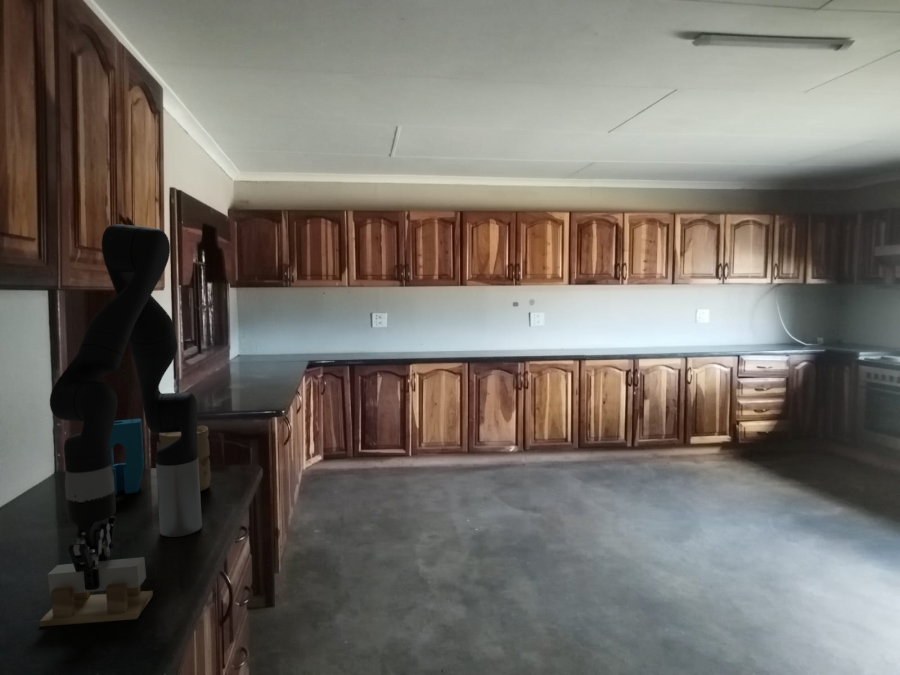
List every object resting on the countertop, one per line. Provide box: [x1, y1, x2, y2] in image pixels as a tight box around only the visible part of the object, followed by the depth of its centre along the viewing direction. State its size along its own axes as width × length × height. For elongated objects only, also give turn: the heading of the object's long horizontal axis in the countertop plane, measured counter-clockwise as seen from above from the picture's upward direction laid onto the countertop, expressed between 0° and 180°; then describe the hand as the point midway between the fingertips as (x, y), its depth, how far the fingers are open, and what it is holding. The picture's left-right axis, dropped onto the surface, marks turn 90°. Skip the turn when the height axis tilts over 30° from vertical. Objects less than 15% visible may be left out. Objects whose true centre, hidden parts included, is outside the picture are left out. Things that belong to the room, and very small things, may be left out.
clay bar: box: [47, 556, 147, 597], centre depth 110 cm, size 4×15×4 cm, turn 98°
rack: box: [39, 583, 154, 627], centre depth 111 cm, size 8×16×6 cm, turn 97°
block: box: [110, 418, 145, 496], centre depth 171 cm, size 12×5×20 cm, turn 113°
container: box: [158, 425, 212, 492], centre depth 170 cm, size 13×13×18 cm
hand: (97, 582), depth 110 cm, fingers closed on clay bar, 3 cm apart
